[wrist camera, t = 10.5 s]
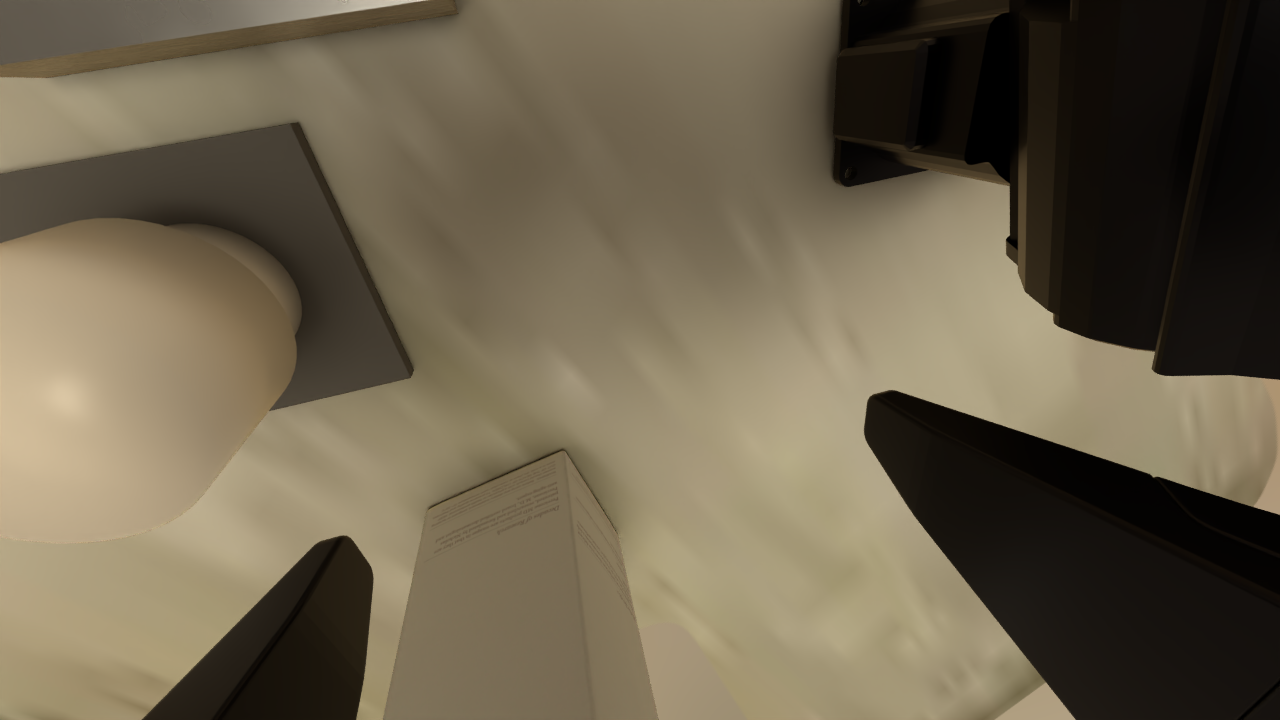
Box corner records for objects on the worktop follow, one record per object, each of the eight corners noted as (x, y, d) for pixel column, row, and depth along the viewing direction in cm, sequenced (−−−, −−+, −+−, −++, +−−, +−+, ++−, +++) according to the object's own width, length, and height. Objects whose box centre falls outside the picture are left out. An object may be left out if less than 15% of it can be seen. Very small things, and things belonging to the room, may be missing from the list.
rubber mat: (297, 122, 15) (289, 123, 14) (413, 370, 19) (410, 378, 19) (-34, 180, 14) (-56, 183, 13) (172, 426, 18) (162, 435, 18)
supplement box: (421, 506, 23) (332, 885, 12) (566, 444, 23) (607, 766, 12) (498, 590, 27) (483, 932, 16) (621, 537, 27) (690, 842, 16)
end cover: (266, 177, 15) (77, 244, 8) (360, 356, 18) (275, 499, 12) (33, 220, 14) (-360, 326, 8) (176, 398, 17) (-19, 573, 11)
